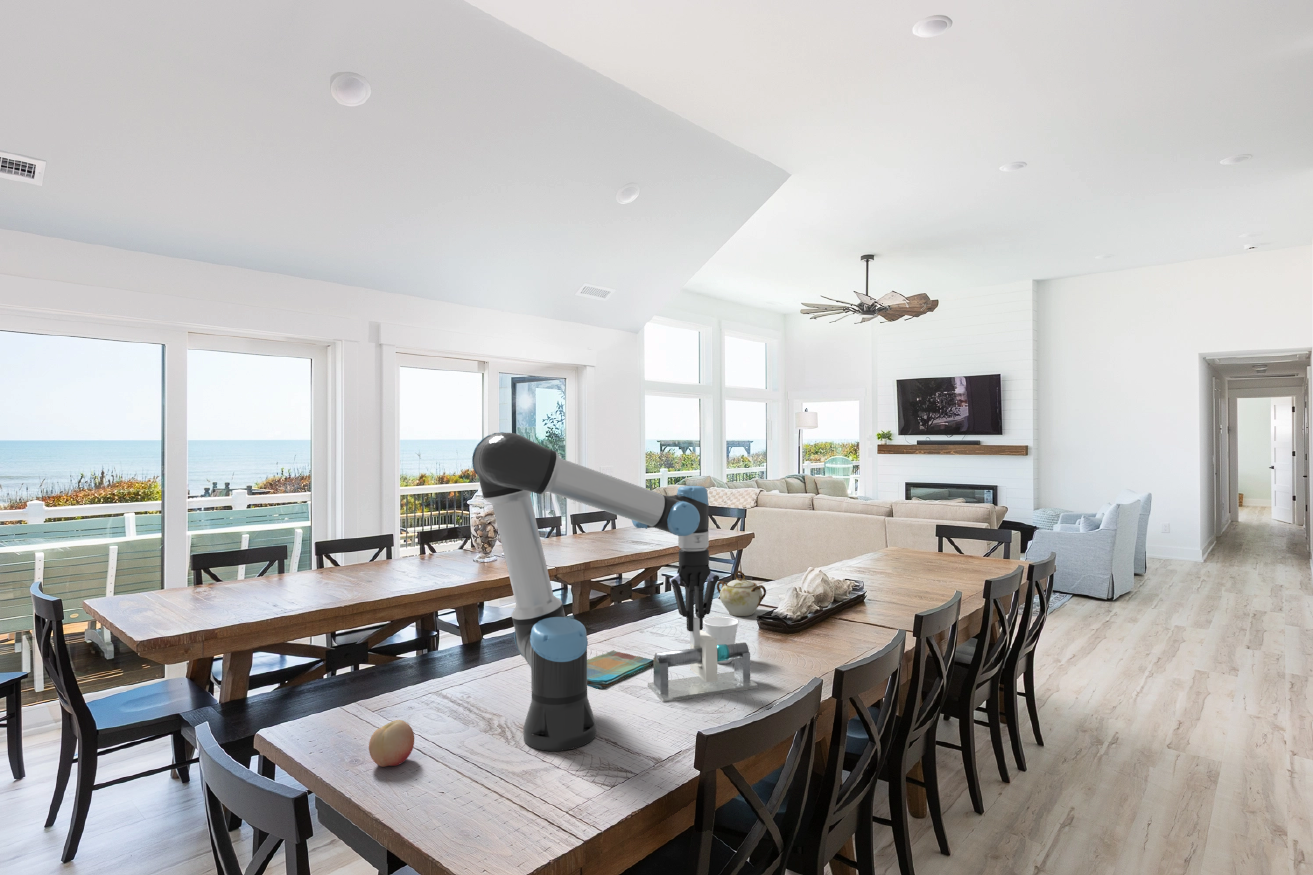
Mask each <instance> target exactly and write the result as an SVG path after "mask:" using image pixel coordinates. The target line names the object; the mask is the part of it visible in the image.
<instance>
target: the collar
mask: <svg viewBox="0 0 1313 875" xmlns="http://www.w3.org/2000/svg"><path fill="white" fill-rule="evenodd" d="M694 648H702V663H697V664H689V666H690V671H692V672H693V673H694V674H695V675H696V676H699V677H700V678H701V679H703V680H704V681H705V682H713V681H717V674H718V663H717V639H715V638H714V637H712V636H711V635H709V634H707V633H706V632H705V630H703V629H702V630H700V645H693V644H692V643H690V642H689V649H694Z"/></svg>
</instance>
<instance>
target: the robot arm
mask: <svg viewBox="0 0 1313 875" xmlns="http://www.w3.org/2000/svg"><path fill="white" fill-rule="evenodd" d="M471 463H472V464H471V465H472V468H473V471H474V472H475V474H476V476H477V477H478V481H479V486H480V490H481V494H482V498H483V499H484V500H485V501H487V502H488V503H490V505H492V509H493V514H494V518H495V523H496V526H497V529H498V534H499V539H500V542H501V543H500V544H501V547H502V550H503V551H502V553H503V556H504V560H505V563H506V569H507V572H508V573H507V574H508V576H509V580H510V585H511V588H512V593H513V597H514V602H515V605H516V606H515V607H514V610H513V611H512V612H511V620H512V623H513V627H514V634H513V636H514V643H515V647H516V649H517V651H518V653H519V654H520V655H521V657H522V658H524V660H525V661H526V663H527V665H528V666H529V667H530V671H531V672H530V674H531V675H530V676H531V677H530V678H531V682H530V683H531V700H530V704H529V708H528V711H527V714H526V718H525V721H524V724H523V732H522V733H523V741H524V743H525V744H526V745H527V746H529V747H531V748H534V749H537V750H542V751H548V752H549V751H550V752H551V751H553V752H559V751H568V750H574V749H577V748H581V747H583V746H586V745H587V744H588V743H590V742H592V741H593V740H594V738H595V737H596V735H597V723H596V719H595V716H594V713H593V710H592V706H591V704H590V701H589V698H588V697H589V696H588V686H587V660H588V645H589V641H588V637H587V629H586V627H585V625H584V624H583V623H582V622H581V621H579V620H577V619H574V618H572V619H571V618H570V617H566V613H565V610H564V604H563V602H562V601H563V600H562V599H560V598H558V597H556V596H555V595H554V591H553V588H552V584H551V583H552V582H551V579H550V575H549V571H548V566H547V563H546V559H545V554H544V548H543V545H542V540H541V535H540V532H539V527H538V523H537V519H536V514H535V510H534V506H533V502H532V498H531V497H532V496H531V494H532V493H534V494H538V495H541V496H542V495H545V494H546V493H549V494H553V495H556V496H559V497H561V498H564V499H567V500H570V501H574V502H575V503H576V502H577V503H580V504H583V505H585V506H586V505H587V506H589V507H592V508H595V509H598V510H601V511H604V512H607V513H610V514H613V515H616V516H620V517H622V518H626V519H627V520H631V522H632V524H633V526H634V527H635V528H636V529H645V530H646V529H652V528H654V529H657V530H660V531H664V532H666V533H670V534H673V535H674V536H678V540H677V542H678V545H677V546H678V547H679V548H680V549H679V550H678V569H677V571H676V572H677V573H676V574H675V575H674V576H673V577H669V578H668V582H669V584H670V585H671V587H672V589H673V594H674V598H675V602H676V606H677V609H678V614H679V615H681V616H682V617H683V618H685V619H686V630H687V631H688V632H689V644H690V643H692V644H693V645H700V630H703V628H704V623H703V620H704V619H705V617H706V615H710V614H711V609H712V605H713V600H714V595H715V589H716V587H717V583H718V582H719V580H720V576H719V575H718V574H715V573H713V572H712V571H711V568H710V550H709V549H707V548H709V546H710V544H709V542H710V541H709V540H710V539H709V506H710V505H709V504H710V503H709V495H708V490H707V488H706V487H705V486H702V485H685V486H683V485H682V486H679V487H678V488H677V492H676V494H675V495H665V494H663V493H661V492H660V493H659V492H657V491H653V490H651V489H648V488H645V487H642V486H640V485H637V484H634V483H632V482H629V481H625V480H622V479H619V478H617V477H614V476H611V475H608V474H606V473H603V472H600V471H598V470H595V469H592V468H589V467H586V466H583V465H581V464H579V463H575V462H572V461H570V460H566V459H564V458H561V457H560V455H559V453H558V452H557V451H555V450H552V449H550V448H547V447H545V446H543V445H541V444H538V443H536V442H534V441H533V440H531V439H529V438H526V437H524V436H523V435H521V434H518V433H515V432H494V433H492V434H488V435H487V436H485V437H483V438H482V439H481V440H480V441H478V443H477V444H476V446H475V448H474V450H473V453H472V457H471ZM706 581H707V583H706ZM681 582H682V583H683V585H684V590H685V591H684V592H685V597H684V595H683V592H682V588H681V586H680V584H681ZM705 583H706V587H705ZM704 589H705V593H704ZM684 598H685V600H684Z"/></svg>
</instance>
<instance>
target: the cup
mask: <svg viewBox="0 0 1313 875" xmlns="http://www.w3.org/2000/svg"><path fill="white" fill-rule="evenodd" d="M739 624H740V623H739V620H738V619H737V618H734V617H729V616H711V617H707V618H703V627H704V632H706V633H707V634H709V635H711V636H712V637H714V638H715V639H717V645H721V644H726V645H727V644H736V637H737V631H738V625H739ZM731 662H733V659H728V660H727V661H719V662H717V665H718V664H719V665H725V664H729V663H731Z"/></svg>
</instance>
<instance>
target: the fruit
mask: <svg viewBox="0 0 1313 875" xmlns="http://www.w3.org/2000/svg"><path fill="white" fill-rule="evenodd" d="M414 745H415V732H414V730H413V729H412V726H410V724H409V723H407V722H406V720H405V721H404V720H402V719H395V720H391V721H390V722H388V723H386V724H384V725H383V726H380V727H379V728H378V729H376V730H374V732H373V733H372V735H371V737H370V739H369V743H368V753H369V755H370V758H371V759H372V761H373V762H374V763H375V764H376V765H377V766H379V767H383V768H384V767H389V766H390V767H396V766H399V765H401V764H403V763H404V762H405V761H406V760H408V758H409V757H410V755H411V754H412V752H413V749H414Z"/></svg>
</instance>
